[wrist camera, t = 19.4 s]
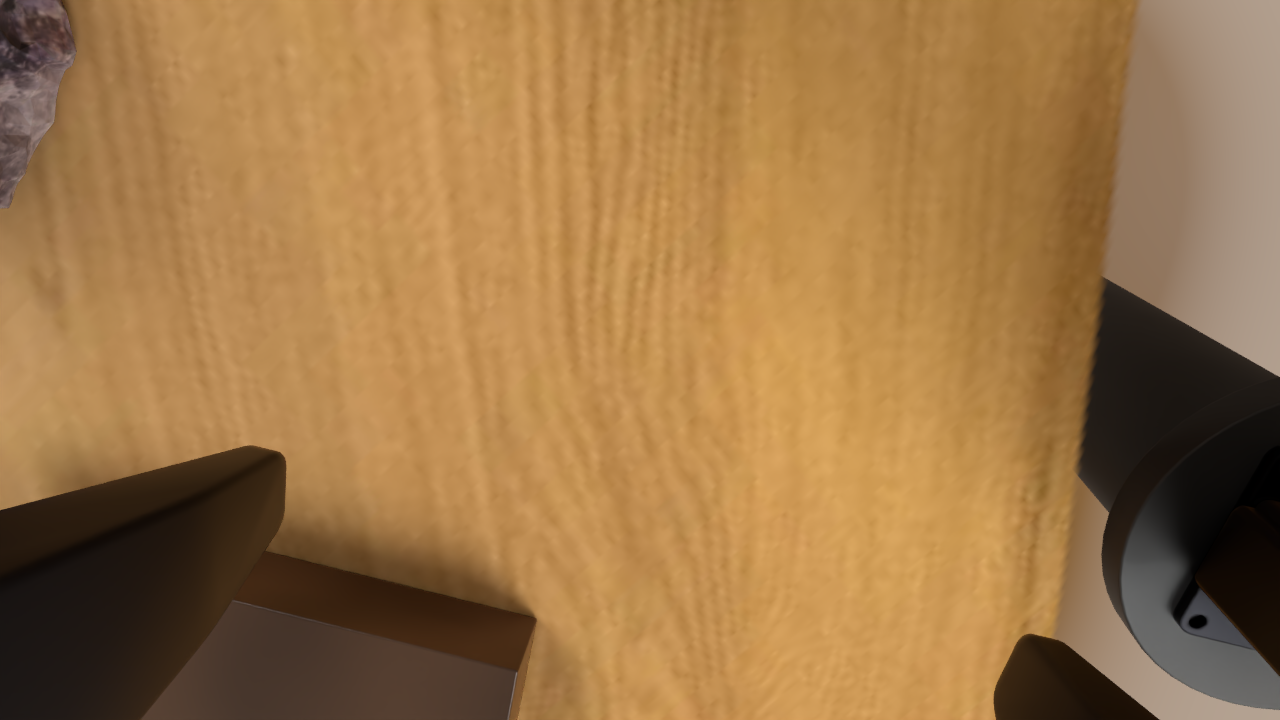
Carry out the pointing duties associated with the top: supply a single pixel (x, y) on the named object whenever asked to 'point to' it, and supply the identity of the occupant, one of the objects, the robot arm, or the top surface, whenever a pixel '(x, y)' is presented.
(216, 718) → the platform
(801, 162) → the top surface
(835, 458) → the top surface
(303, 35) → the top surface
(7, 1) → the crystal cluster
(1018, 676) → the robot arm
